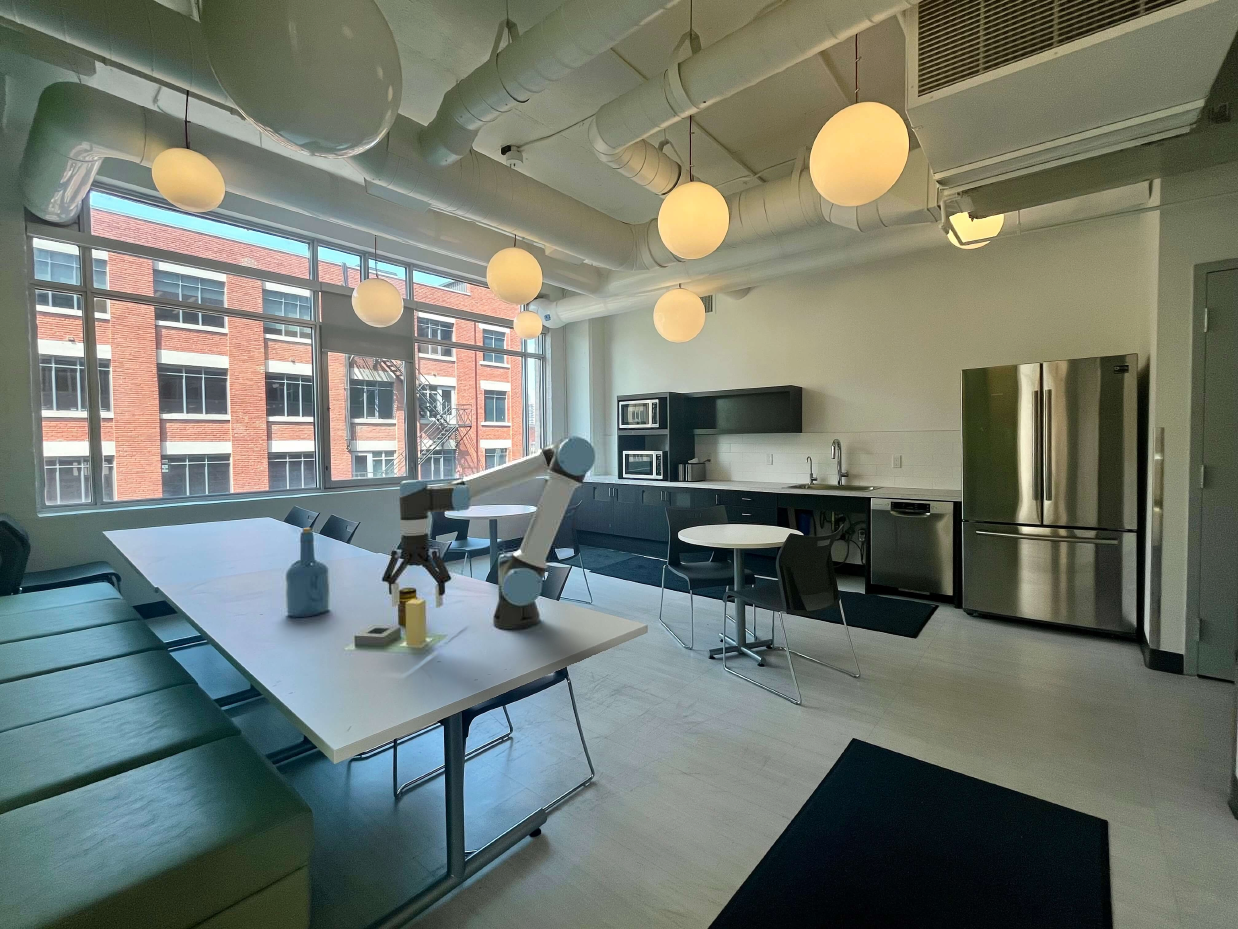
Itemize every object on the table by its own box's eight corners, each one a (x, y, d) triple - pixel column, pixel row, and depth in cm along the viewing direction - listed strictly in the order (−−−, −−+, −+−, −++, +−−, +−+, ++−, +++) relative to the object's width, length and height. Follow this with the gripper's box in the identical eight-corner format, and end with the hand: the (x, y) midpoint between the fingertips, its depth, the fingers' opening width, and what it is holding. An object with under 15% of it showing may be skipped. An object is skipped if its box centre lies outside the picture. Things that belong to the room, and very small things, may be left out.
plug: (426, 640, 156) (425, 599, 156) (419, 645, 152) (418, 603, 152) (413, 639, 157) (412, 599, 157) (406, 644, 153) (405, 603, 153)
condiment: (421, 626, 172) (420, 590, 172) (393, 631, 168) (393, 594, 167) (416, 620, 178) (415, 585, 178) (389, 625, 174) (388, 589, 173)
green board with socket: (447, 638, 161) (447, 625, 161) (422, 657, 146) (422, 642, 146) (374, 634, 165) (374, 621, 165) (343, 653, 150) (342, 638, 150)
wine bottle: (337, 610, 190) (335, 527, 189) (298, 621, 178) (296, 532, 178) (316, 604, 197) (315, 524, 196) (278, 614, 186) (276, 529, 185)
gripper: (461, 531, 156) (463, 602, 157) (382, 531, 159) (385, 601, 160) (449, 535, 148) (452, 610, 149) (367, 535, 152) (370, 608, 153)
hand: (417, 605), depth 155 cm, fingers open, 13 cm apart
